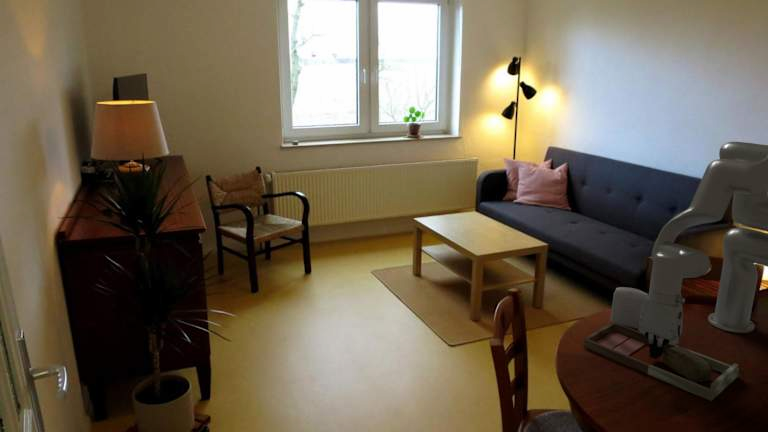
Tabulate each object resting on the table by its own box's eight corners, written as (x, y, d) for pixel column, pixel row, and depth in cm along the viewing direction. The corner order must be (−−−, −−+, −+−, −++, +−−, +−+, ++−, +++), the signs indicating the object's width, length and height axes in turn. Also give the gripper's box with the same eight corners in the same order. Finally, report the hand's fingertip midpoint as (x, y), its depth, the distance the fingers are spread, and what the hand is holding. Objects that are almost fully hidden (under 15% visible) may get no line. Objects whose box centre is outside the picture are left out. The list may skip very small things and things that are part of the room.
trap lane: (612, 329, 175) (613, 317, 174) (737, 376, 149) (740, 363, 148) (582, 346, 165) (583, 334, 164) (711, 401, 139) (713, 386, 137)
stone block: (695, 386, 145) (698, 368, 144) (659, 363, 156) (662, 347, 154) (712, 381, 147) (715, 364, 146) (676, 359, 158) (678, 343, 156)
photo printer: (645, 325, 177) (650, 289, 174) (644, 331, 174) (648, 294, 170) (611, 318, 183) (615, 283, 179) (609, 323, 179) (613, 287, 176)
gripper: (698, 301, 148) (688, 363, 153) (643, 284, 160) (636, 342, 165) (686, 309, 144) (676, 372, 149) (630, 291, 155) (622, 350, 160)
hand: (655, 356), depth 157 cm, fingers closed
